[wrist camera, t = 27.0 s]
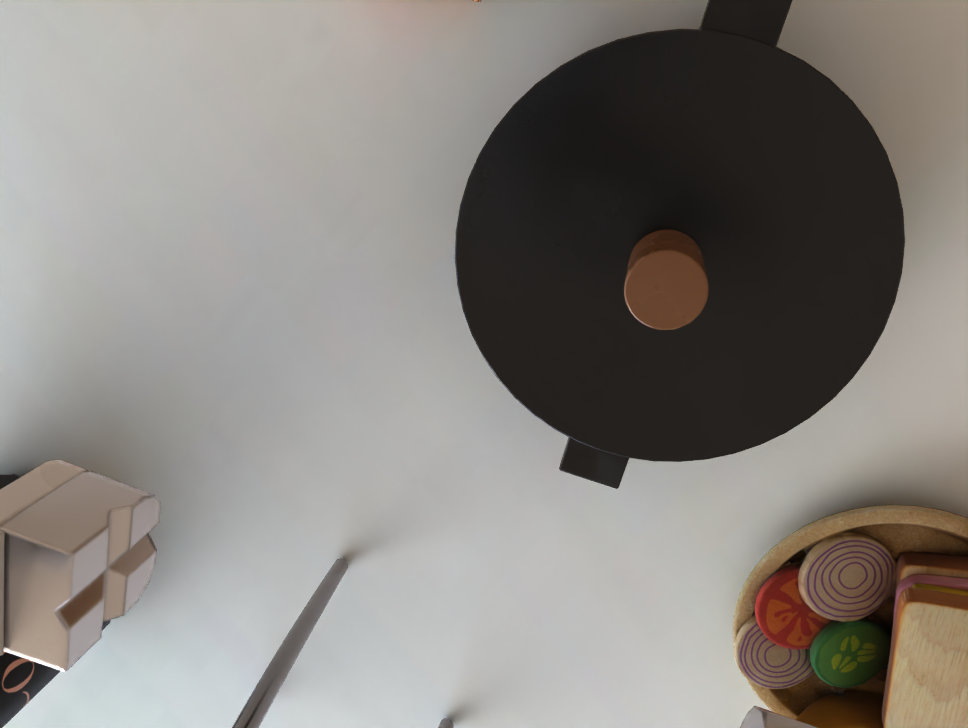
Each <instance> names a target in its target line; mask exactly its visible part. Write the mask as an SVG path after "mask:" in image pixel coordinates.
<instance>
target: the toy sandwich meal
mask: <svg viewBox="0 0 968 728" xmlns="http://www.w3.org/2000/svg"><path fill="white" fill-rule="evenodd" d="M733 638H734V657H735V662H736V664H737V666H738V668H739V670H740V672H741V673H742V674H743V675H744V677H746V679H747V681H748V683H749V684H750V686H751V687H752V689H753V690H754V692H755V693H756V694H757V696H758V697H759V698H760V699H761V701H762V702H763V703H764V704H765V705H766V706H767V707H768V708H769V709H770V710H771V711H772V712H774V713H777V714H780V715H783V716H786V717H789V718H792V719H795V720H798V721H801V722H803V723H806V724H809V725H812V726H815V727H818V728H968V518H965V517H962V516H959V515H956V514H953V513H949V512H946V511H942V510H937V509H932V508H925V507H917V506H905V505H885V506H872V507H864V508H858V509H853V510H848V511H844V512H840V513H837V514H834V515H831V516H827V517H825V518H822V519H820V520H817V521H815V522H812V523H810V524H808V525H806V526H804V527H802V528H801V529H799V530H797V531H795V532H794V533H792V534H791V535H789V536H788V537H786V538H785V539H783V540H782V541H781V542H779V543H778V544H777V545H776V546H774V547H773V548H772V549H771V550H770V551H769V552H768V553H767V554H766V555H765V556H764V557H763V558H762V559H761V561H760V562H759V563H758V564H757V565H756V567H755V568H754V569H753V571H752V572H751V574H750V575H749V577H748V579H747V580H746V582H745V584H744V586H743V588H742V590H741V593H740V596H739V598H738V601H737V604H736V608H735V613H734V622H733Z"/></svg>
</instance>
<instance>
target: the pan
mask: <svg viewBox="0 0 968 728" xmlns="http://www.w3.org/2000/svg"><path fill="white" fill-rule="evenodd" d="M791 3H792V0H708V3H707V6H706V10H705V13H704V16H703V19H702V22H701V25H700V28H699V30H715V31H720V32H726V33H731V34H737V35H742V36H746V37H749V38H752V39H755V40H758V41H761V42H764V43H767V44H770V45H773V46H776V45H777V43H778V40H779V37H780V34H781V31H782V29H783V26H784V23H785V20H786V17H787V14H788V12H789V9H790V6H791ZM628 460H629V458H628V457H624V456H620V455H616V454H612V453H608V452H604V451H601V450H598V449H596V448H593V447H591V446H588V445H586V444H583V443H580V442H578V441H576V440H574V439H572V438H570V437H569V438H568V441H567V445H566V448H565V451H564V454H563V457H562V460H561V464H560V468H559V469H560V470H561V471H564V472H567V473H570V474H573V475H576V476H579V477H582V478H585V479H588V480H591V481H594V482H597V483H601V484H604V485H607V486H610V487H613V488H616V489H617V488H618V487H619V485H620V482H621V479H622V477H623V474H624V471H625V468H626V465H627V463H628Z"/></svg>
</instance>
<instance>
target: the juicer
mask: <svg viewBox="0 0 968 728" xmlns="http://www.w3.org/2000/svg"><path fill="white" fill-rule="evenodd" d="M347 568H348V564H347V562H346V561H345V560H344V559H337V560H336V561H335V563H334V564H333V566H332V567H331V569H330V570H329V572H328V573H327V575H326V576H325V578H324V579H323V580H322V582H321V583H320V585H319V586H318V588H317V590H316V591H315V593H314V594H313V596H312V597H311V599H310V600H309V602H308V603H307V605H306V606H305V608H304V609H303V611H302V613H301V614H300V616H299V617H298V619H297V620H296V622H295V624H294V625H293V627H292V628H291V630H290V631H289V633H288V635H287V636H286V638H285V639H284V641H283V643H282V644H281V646H280V647H279V649H278V651H277V652H276V654H275V656H274V657H273V659H272V661H271V662H270V664H269V665H268V667H267V669H266V670H265V672H264V674H263V675H262V677H261V679H260V680H259V682H258V684H257V686H256V687H255V689H254V691H253V692H252V694H251V696H250V697H249V699H248V701H247V703H246V704H245V706H244V708H243V709H242V711H241V713H240V715H239V716H238V718H237V720H236V722H235V723H234V725H233V727H232V728H259V726H260V725H261V723H262V721H263V719H264V717H265V715H266V714H267V712H268V710H269V708H270V706H271V704H272V703H273V701H274V699H275V697H276V695H277V693H278V692H279V690H280V688H281V686H282V684H283V682H284V681H285V679H286V677H287V675H288V673H289V671H290V670H291V668H292V666H293V664H294V662H295V661H296V659H297V657H298V655H299V653H300V652H301V650H302V648H303V646H304V644H305V643H306V641H307V639H308V637H309V635H310V634H311V632H312V630H313V628H314V626H315V625H316V623H317V621H318V619H319V618H320V616H321V614H322V612H323V611H324V609H325V607H326V605H327V603H328V602H329V600H330V598H331V596H332V595H333V593H334V591H335V589H336V588H337V586H338V584H339V583H340V581H341V579H342V577H343V576H344V574H345V572H346V570H347ZM438 728H454V724H453V722H452V721H451V720H450V719H443V720H442V721H441V722H440V724H439V727H438Z"/></svg>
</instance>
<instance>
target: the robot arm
mask: <svg viewBox="0 0 968 728" xmlns="http://www.w3.org/2000/svg"><path fill="white" fill-rule="evenodd" d="M159 520H160V501H159V500H158V499H157V497H156V496H155V495H153V494H151V493H148V492H145V491H143V490H140V489H137V488H135V487H132V486H129V485H127V484H124V483H121V482H119V481H116V480H114V479H111V478H108V477H106V476H103V475H100V474H98V473H95V472H92V471H91V472H90V471H88V470H86V469H83V468H80V467H78V466H75V465H72V464H69V463H67V462H64V461H61V460H52V461H47V462H45V463H43V464H42V465H40V466H39V467H37V468H35V469H34V470H32V471H30V472H29V473H27V474H25V475H24V476H22V477H20V478H19V479H17V480H15V481H14V482H12V483H10V484H9V485H7V486H5V487H4V488H2V489H0V656H1V655H3V653H4V651H6V652H9V653H12V654H15V655H18V656H20V657H23V658H26V659H29V660H32V661H35V662H38V663H41V664H43V665H46V666H49V667H52V668H55V669H58V670H61V671H63V672H66V671H67V670H68V669H69V668H70V667H71V666H72V665H73V664H74V663H75V662H77V661H78V660H79V659H80V658H81V657H82V656H83V655H84V654H85V653H86V652H87V651H88V650H89V649H90V648H91V647H92V646H93V645H94V644H95V643H96V642H97V641H98V640H99V639H100V638H101V635H102V622H105V621H108V620H111V619H114V618H117V617H120V616H124V615H125V614H126V613H127V612H128V611H129V610H130V609H131V608H132V607H133V605H134V604H135V603H136V602H137V601H138V600H139V598H140V597H141V595H142V593H143V592H144V590H145V588H146V587H147V585H148V583H149V582H150V579H151V576H152V572H153V569H154V566H155V560H156V551H157V549H156V547H155V545H154V543H153V541H152V539H151V538H150V536H149V534H148V532H149V531H150V530H152V529H153V528H154V527H155V526H156V525H157V524H158V523H159ZM740 728H818V727H815V726H812V725H809V724H806V723H803V722H801V721H798V720H795V719H792V718H789V717H786V716H783V715H780V714H777V713H774V712H772V711H769V710H766V709H763V708H760V707H757V706H754V707H753V708H752V709H751V710H750V711H749V712H748V713H747V715H746V717H745V719H744V721H743V722H742V724H741V726H740Z"/></svg>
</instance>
